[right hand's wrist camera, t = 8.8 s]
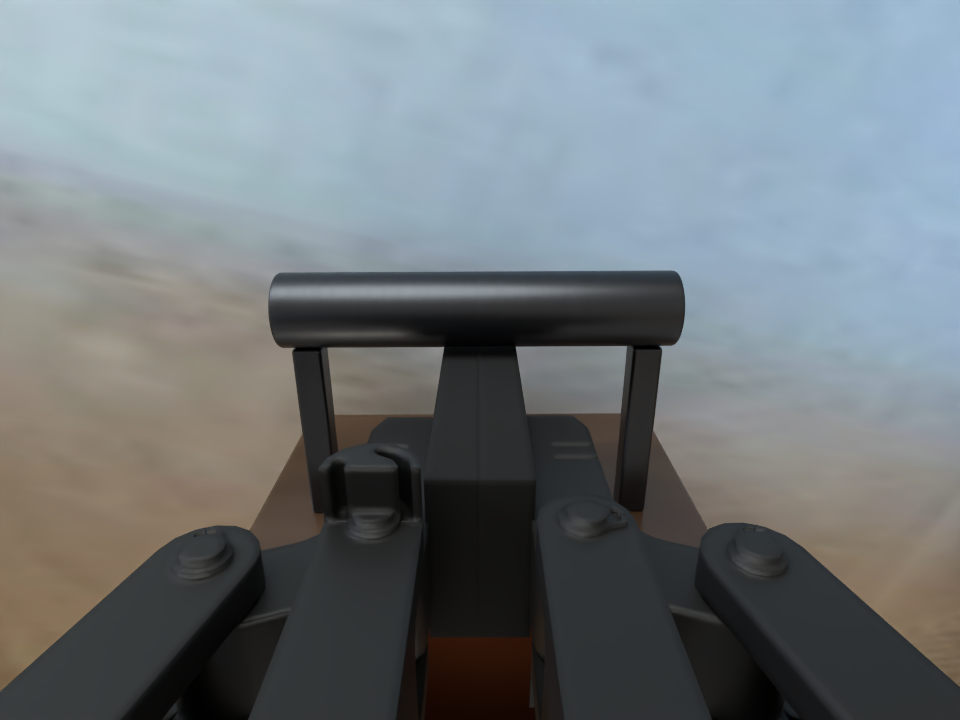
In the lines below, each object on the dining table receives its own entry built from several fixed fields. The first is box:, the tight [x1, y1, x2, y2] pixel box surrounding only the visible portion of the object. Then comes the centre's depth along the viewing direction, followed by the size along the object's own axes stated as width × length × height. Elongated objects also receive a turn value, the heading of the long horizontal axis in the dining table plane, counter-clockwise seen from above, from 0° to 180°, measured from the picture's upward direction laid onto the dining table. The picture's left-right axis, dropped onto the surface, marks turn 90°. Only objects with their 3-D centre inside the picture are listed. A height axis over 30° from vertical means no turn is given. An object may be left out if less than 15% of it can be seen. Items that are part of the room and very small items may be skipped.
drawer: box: [250, 271, 708, 720], centre depth 18 cm, size 24×10×7 cm, turn 0°
